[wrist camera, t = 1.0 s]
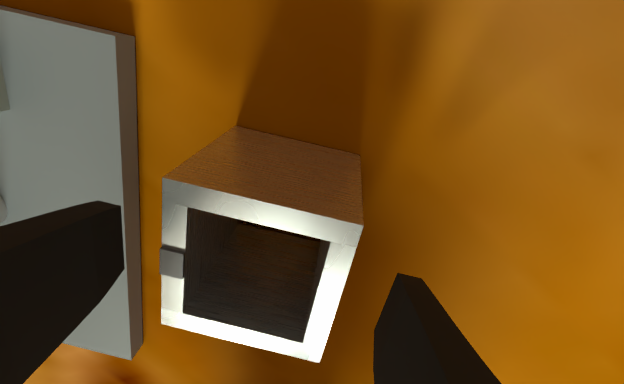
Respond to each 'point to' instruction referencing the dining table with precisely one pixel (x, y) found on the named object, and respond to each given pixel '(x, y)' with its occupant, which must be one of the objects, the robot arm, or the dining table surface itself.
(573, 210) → the dining table surface
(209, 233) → the box
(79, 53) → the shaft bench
